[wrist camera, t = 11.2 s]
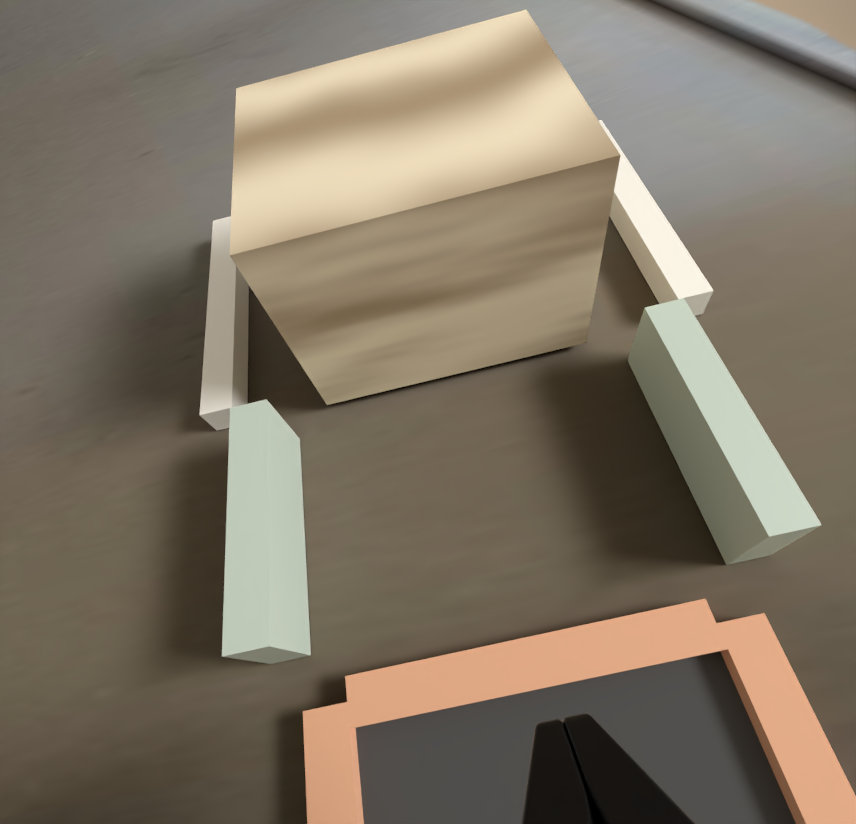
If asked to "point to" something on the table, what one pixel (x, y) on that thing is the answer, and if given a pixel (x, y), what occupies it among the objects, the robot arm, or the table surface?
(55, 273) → the table surface
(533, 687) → the frame
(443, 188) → the maple block
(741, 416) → the sage guide walls
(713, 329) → the table surface
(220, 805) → the table surface
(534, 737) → the robot arm
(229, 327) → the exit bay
